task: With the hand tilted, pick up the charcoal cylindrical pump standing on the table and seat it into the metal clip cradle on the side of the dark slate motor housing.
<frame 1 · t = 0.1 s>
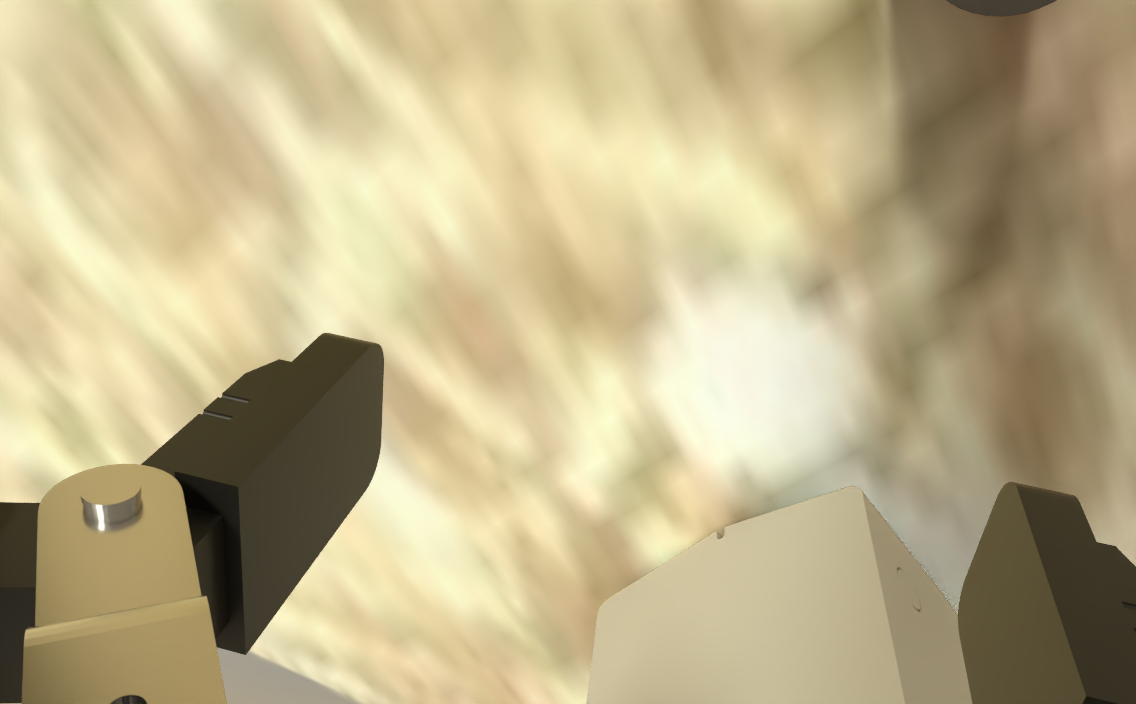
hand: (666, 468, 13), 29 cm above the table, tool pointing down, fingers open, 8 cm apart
electrical switch box: (810, 643, 50), on the table
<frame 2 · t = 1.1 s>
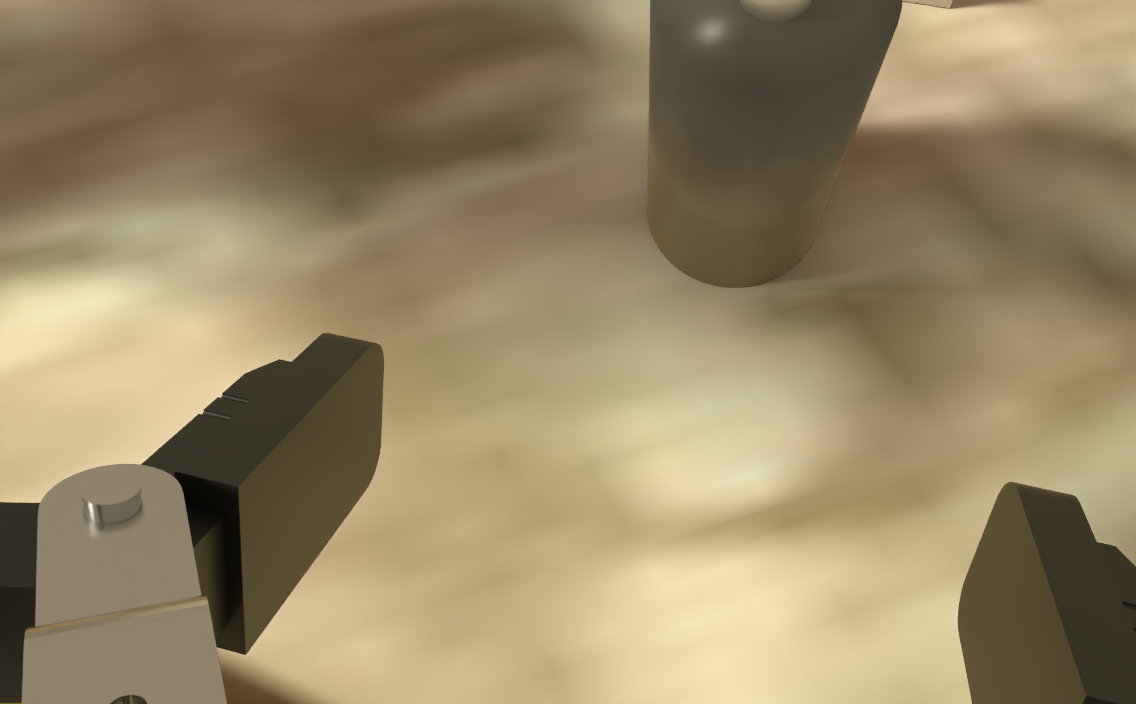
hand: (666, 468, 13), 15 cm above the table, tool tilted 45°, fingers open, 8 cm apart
pump: (732, 208, 30), on the table
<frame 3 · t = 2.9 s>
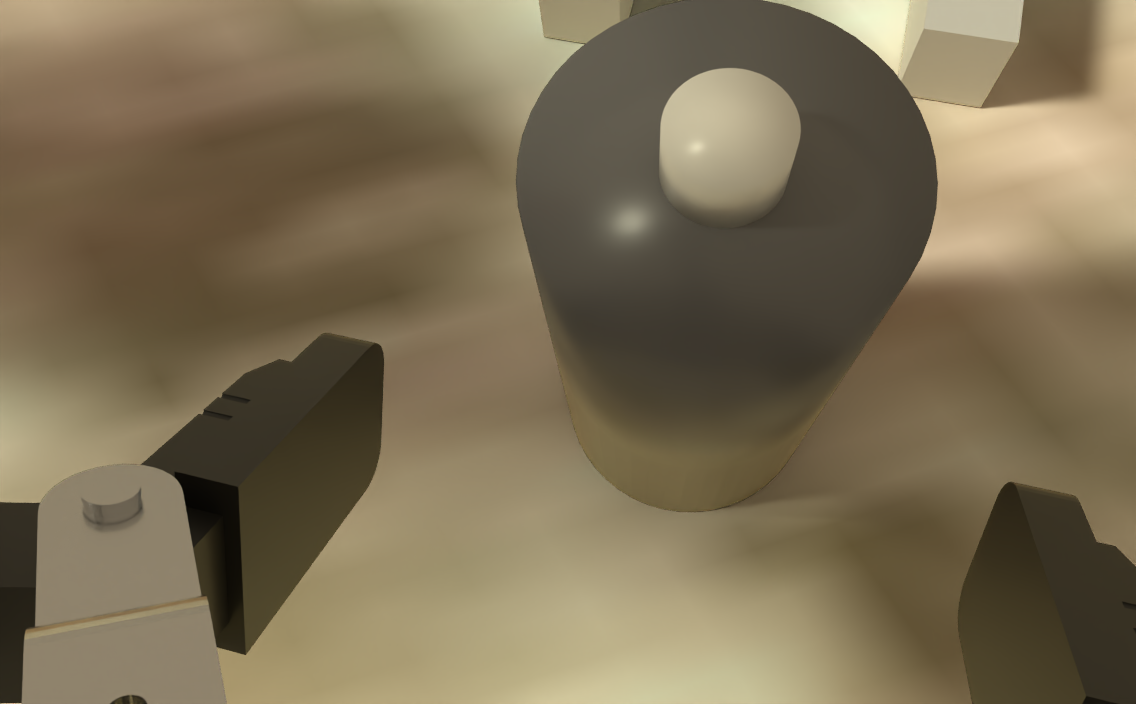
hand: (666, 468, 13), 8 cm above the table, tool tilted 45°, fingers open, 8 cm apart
pump: (686, 394, 22), on the table
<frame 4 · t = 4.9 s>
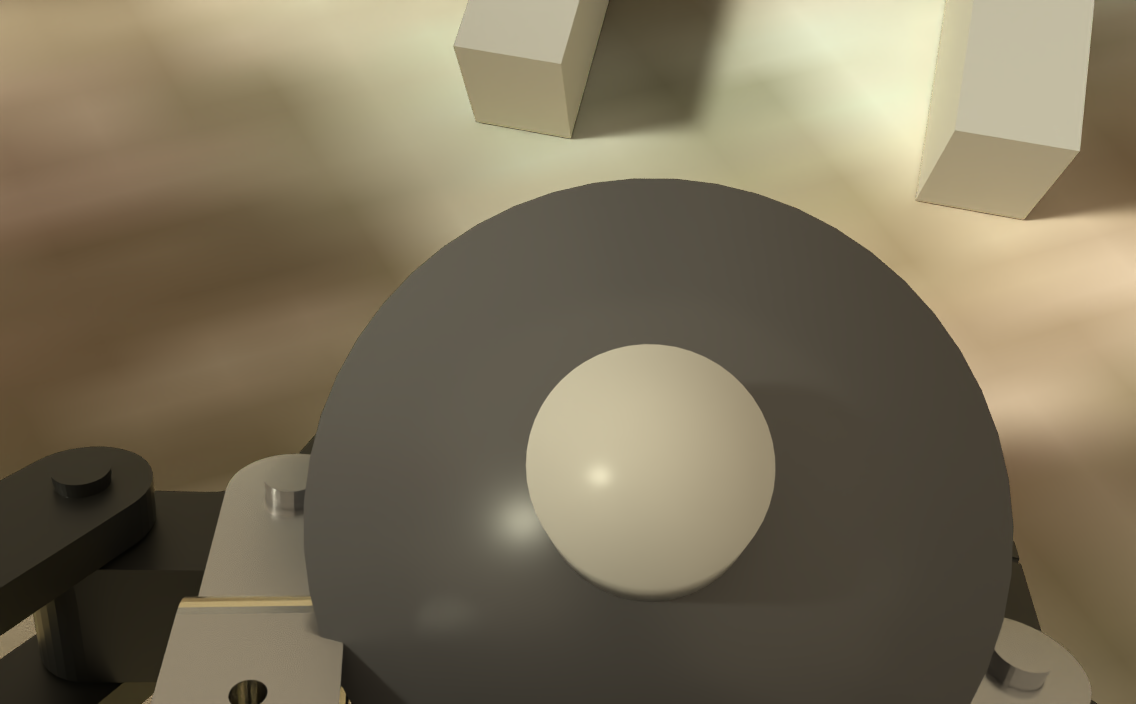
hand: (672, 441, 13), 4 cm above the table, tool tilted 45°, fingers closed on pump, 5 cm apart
pump: (644, 601, 17), on the table, touching gripper
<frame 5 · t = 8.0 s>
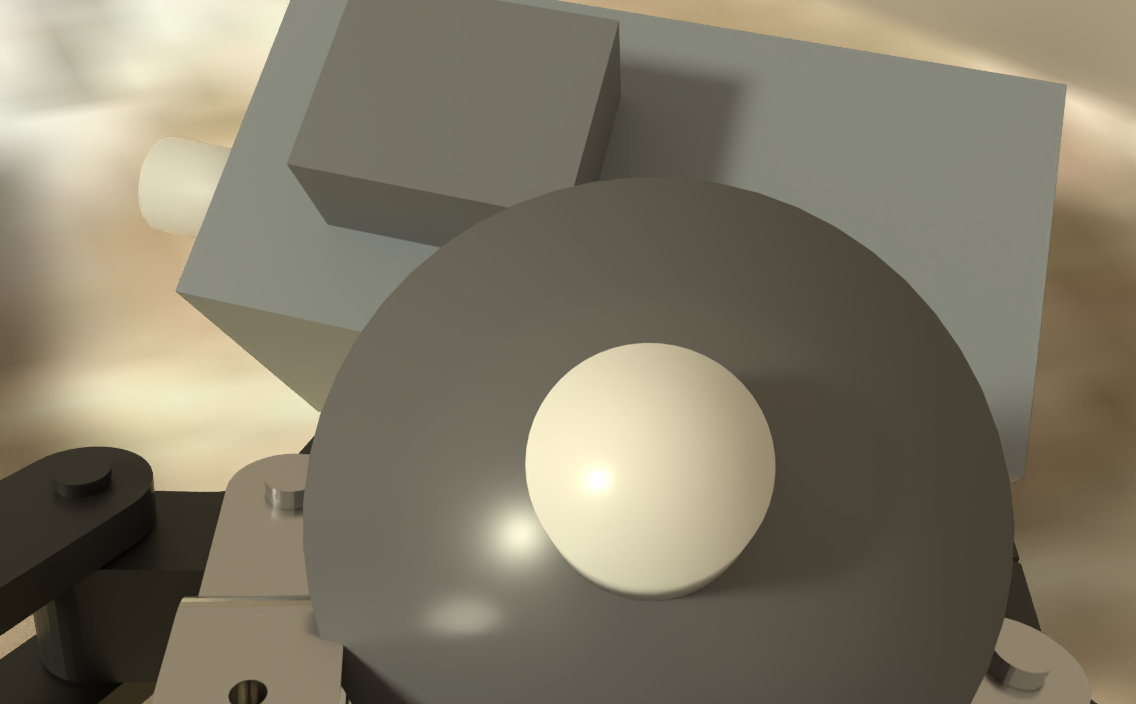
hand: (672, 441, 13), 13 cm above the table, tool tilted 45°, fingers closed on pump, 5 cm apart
motor: (626, 339, 28), on the table
pump: (645, 600, 17), point 9 cm above the table, touching gripper
when the fingers open (6 cm above the table, at t = 9.7 s): pump drops 1 cm, on the table.
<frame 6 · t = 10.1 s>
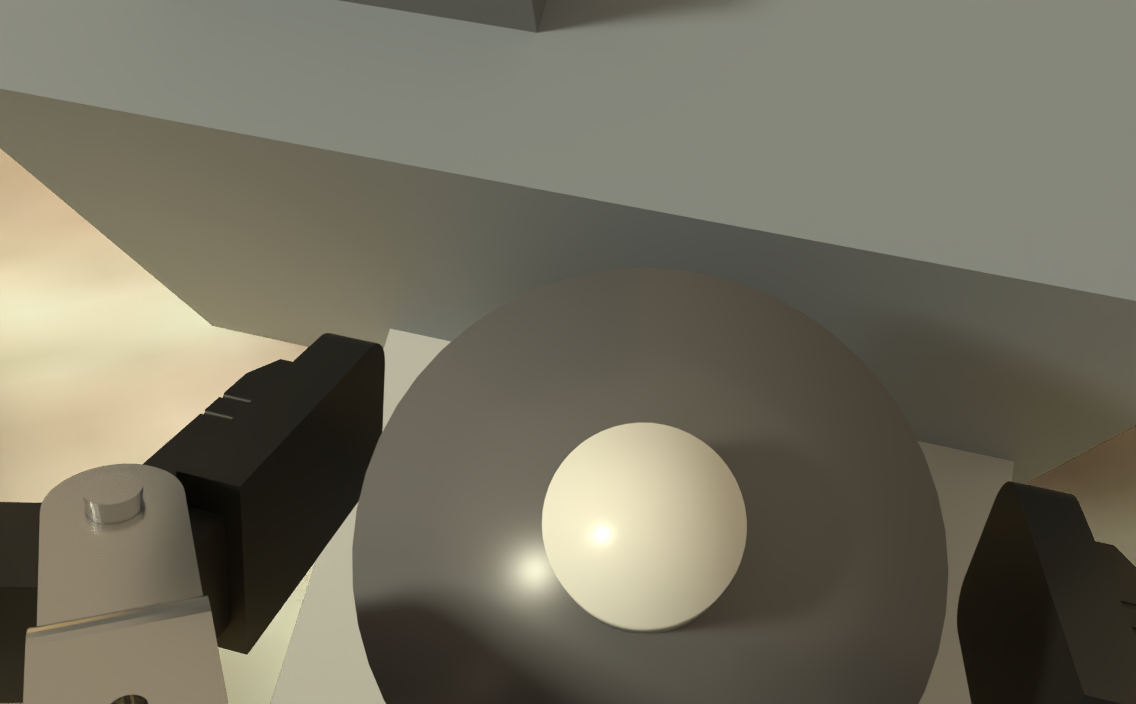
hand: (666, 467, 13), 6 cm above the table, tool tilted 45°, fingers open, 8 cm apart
motor: (627, 227, 21), on the table
pump: (642, 616, 18), on the table
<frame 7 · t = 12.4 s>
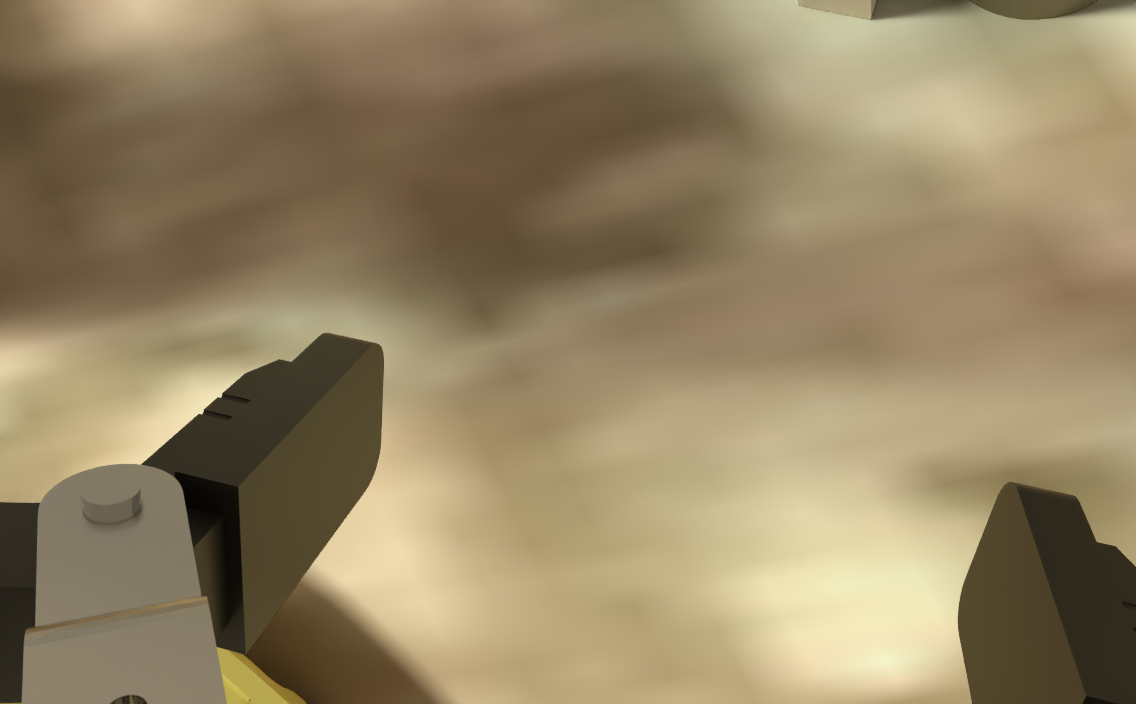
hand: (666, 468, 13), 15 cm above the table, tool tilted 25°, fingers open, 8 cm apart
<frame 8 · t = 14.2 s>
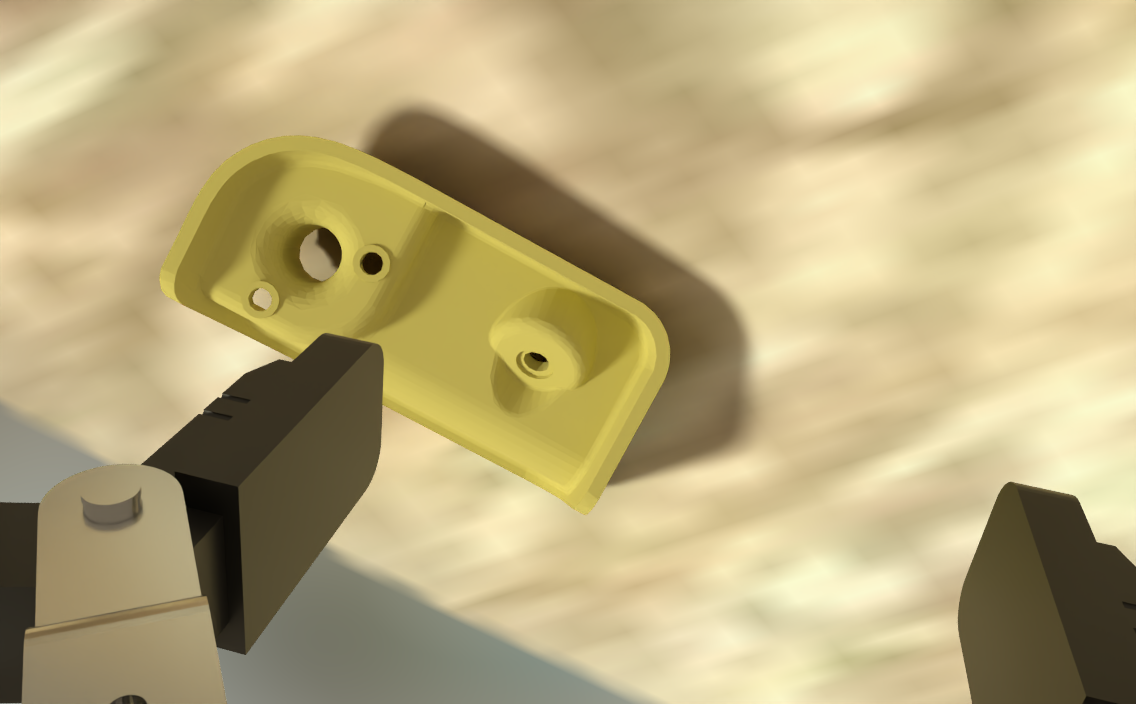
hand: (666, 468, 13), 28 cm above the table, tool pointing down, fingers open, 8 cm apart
plastic component: (456, 294, 45), on the table
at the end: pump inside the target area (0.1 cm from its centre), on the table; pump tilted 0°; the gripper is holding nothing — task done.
